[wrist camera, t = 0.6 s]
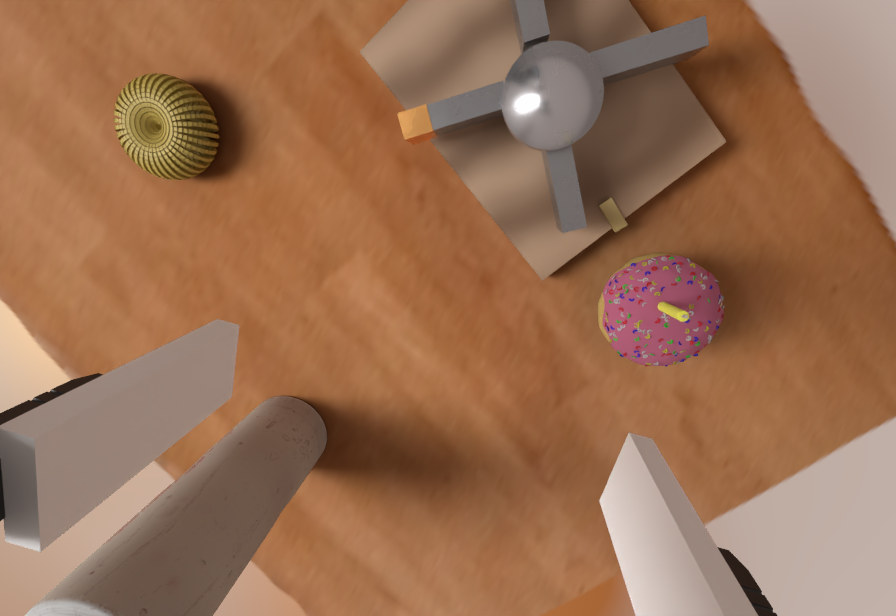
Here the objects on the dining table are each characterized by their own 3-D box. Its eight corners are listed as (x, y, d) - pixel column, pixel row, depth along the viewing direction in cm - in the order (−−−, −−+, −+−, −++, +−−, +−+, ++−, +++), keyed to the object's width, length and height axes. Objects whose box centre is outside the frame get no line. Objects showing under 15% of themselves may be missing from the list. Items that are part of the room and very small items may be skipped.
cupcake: (567, 284, 37) (598, 328, 25) (659, 223, 35) (738, 240, 23) (622, 362, 38) (676, 437, 26) (714, 307, 36) (816, 364, 24)
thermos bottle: (237, 433, 45) (-161, 804, 18) (277, 380, 42) (-110, 709, 15) (300, 480, 45) (7, 906, 18) (342, 429, 43) (79, 828, 16)
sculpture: (134, 194, 35) (81, 94, 33) (170, 194, 39) (124, 104, 37) (216, 155, 33) (164, 48, 32) (245, 159, 37) (200, 63, 36)
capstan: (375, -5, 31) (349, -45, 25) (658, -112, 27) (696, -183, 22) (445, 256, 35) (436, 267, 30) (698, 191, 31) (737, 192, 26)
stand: (367, 59, 34) (352, 44, 30) (533, -114, 30) (537, -154, 26) (543, 279, 37) (547, 289, 33) (716, 149, 33) (742, 144, 29)
